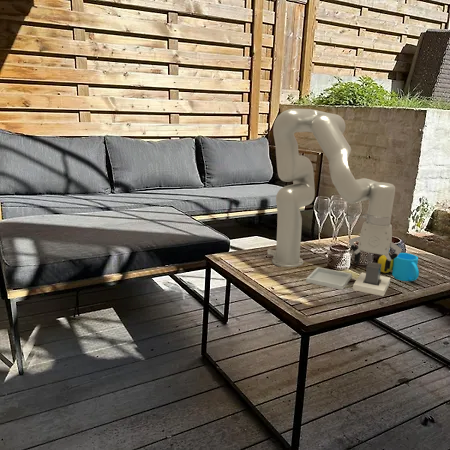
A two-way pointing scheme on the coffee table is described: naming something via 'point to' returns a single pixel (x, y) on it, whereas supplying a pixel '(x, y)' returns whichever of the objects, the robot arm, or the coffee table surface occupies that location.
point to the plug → (373, 273)
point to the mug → (405, 267)
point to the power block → (370, 288)
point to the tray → (329, 278)
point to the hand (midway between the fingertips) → (371, 267)
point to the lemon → (382, 262)
